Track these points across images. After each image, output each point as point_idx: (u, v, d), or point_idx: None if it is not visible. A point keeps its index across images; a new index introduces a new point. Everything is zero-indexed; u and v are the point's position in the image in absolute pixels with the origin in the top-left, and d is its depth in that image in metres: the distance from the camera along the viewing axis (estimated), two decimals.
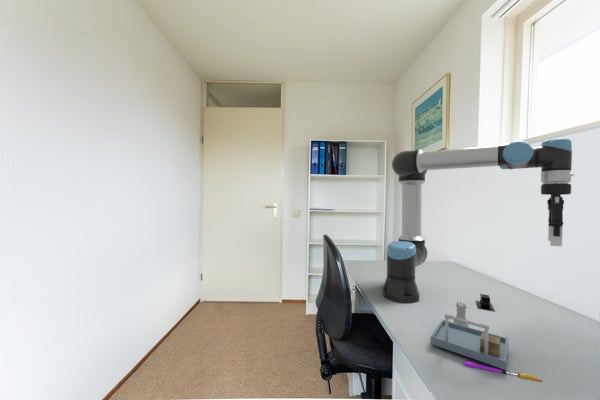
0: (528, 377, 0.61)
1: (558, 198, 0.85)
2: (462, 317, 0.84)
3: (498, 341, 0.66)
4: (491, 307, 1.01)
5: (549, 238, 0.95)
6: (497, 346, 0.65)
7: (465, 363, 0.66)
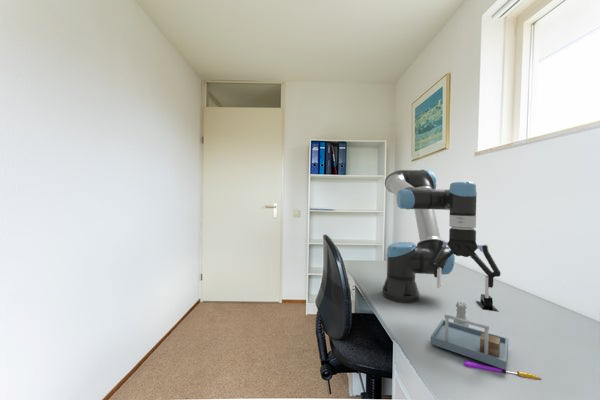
0: (527, 375, 0.61)
1: (439, 242, 0.89)
2: (462, 317, 0.84)
3: (498, 341, 0.66)
4: (493, 307, 1.01)
5: None
6: (497, 346, 0.65)
7: (465, 363, 0.66)
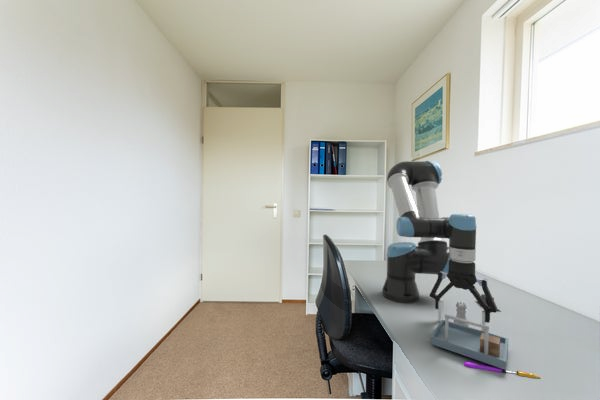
0: (527, 375, 0.62)
1: (438, 273, 0.90)
2: (462, 317, 0.84)
3: (498, 341, 0.66)
4: None
5: None
6: (497, 346, 0.65)
7: (466, 364, 0.65)
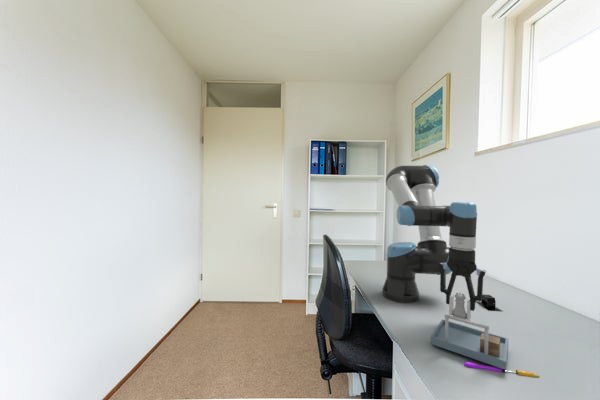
0: (526, 374, 0.62)
1: None
2: (461, 308, 0.85)
3: (498, 341, 0.66)
4: (495, 307, 1.01)
5: None
6: (497, 346, 0.65)
7: (466, 364, 0.65)
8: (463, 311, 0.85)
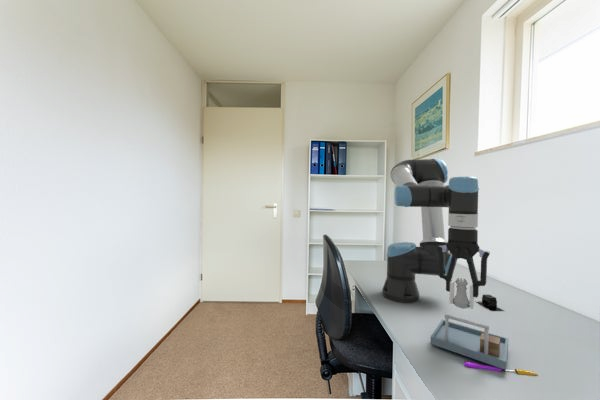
0: (525, 372, 0.63)
1: None
2: (462, 294, 0.76)
3: (498, 341, 0.66)
4: (496, 306, 1.02)
5: None
6: (497, 346, 0.65)
7: (466, 364, 0.65)
8: (465, 298, 0.76)
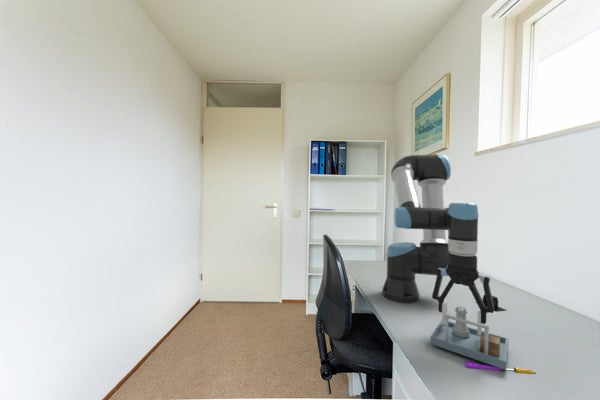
0: (523, 371, 0.63)
1: (437, 270, 0.81)
2: (462, 323, 0.76)
3: (498, 341, 0.66)
4: None
5: None
6: (497, 346, 0.65)
7: (467, 365, 0.65)
8: (465, 327, 0.76)
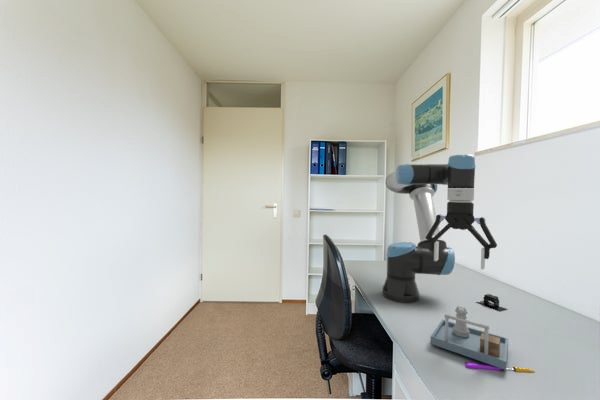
0: (523, 370, 0.63)
1: (437, 216, 0.90)
2: (462, 324, 0.76)
3: (498, 341, 0.66)
4: None
5: None
6: (497, 346, 0.65)
7: (468, 365, 0.65)
8: (465, 327, 0.76)
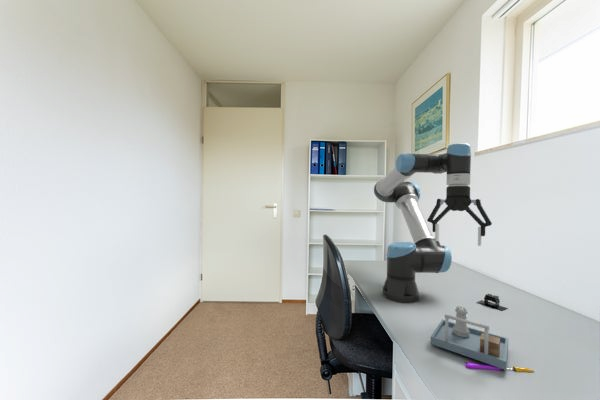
0: (522, 369, 0.64)
1: None
2: (462, 324, 0.76)
3: (498, 341, 0.66)
4: None
5: None
6: (497, 346, 0.65)
7: (468, 365, 0.65)
8: (465, 327, 0.76)
